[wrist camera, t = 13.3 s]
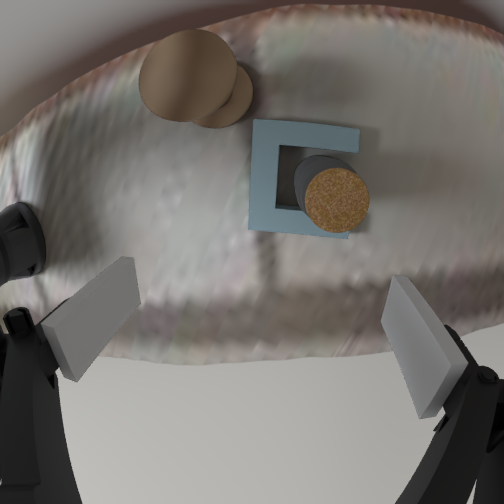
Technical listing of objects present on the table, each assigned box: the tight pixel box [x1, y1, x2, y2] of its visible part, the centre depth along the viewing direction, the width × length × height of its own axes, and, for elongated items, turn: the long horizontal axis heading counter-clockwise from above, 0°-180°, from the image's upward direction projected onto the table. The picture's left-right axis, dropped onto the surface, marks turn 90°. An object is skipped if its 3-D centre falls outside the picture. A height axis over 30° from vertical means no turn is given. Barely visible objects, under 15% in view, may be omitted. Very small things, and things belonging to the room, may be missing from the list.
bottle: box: [294, 155, 369, 233], centre depth 26 cm, size 6×6×15 cm
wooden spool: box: [139, 29, 253, 128], centre depth 26 cm, size 9×9×11 cm
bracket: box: [248, 119, 360, 239], centre depth 32 cm, size 12×13×2 cm
